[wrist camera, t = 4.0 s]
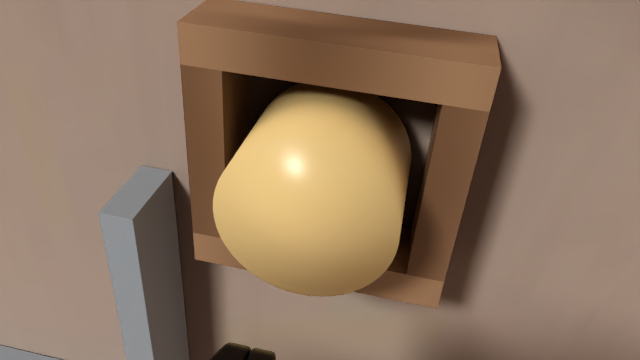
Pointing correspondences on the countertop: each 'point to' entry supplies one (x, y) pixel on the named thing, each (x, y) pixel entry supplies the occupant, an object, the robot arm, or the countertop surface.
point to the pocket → (142, 269)
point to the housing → (348, 74)
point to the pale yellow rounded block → (317, 191)
